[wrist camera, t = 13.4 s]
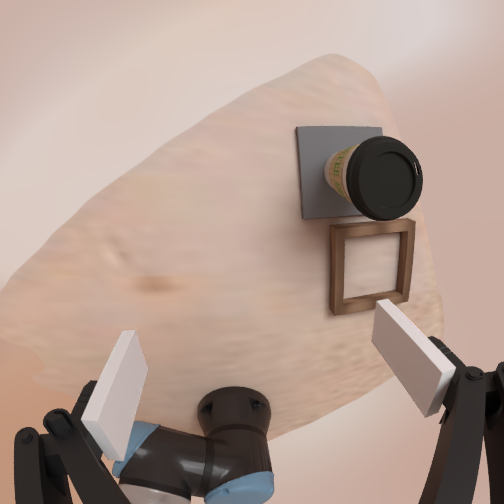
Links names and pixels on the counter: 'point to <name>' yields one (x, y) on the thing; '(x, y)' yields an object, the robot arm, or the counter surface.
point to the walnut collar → (337, 263)
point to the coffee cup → (376, 177)
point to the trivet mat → (313, 162)
